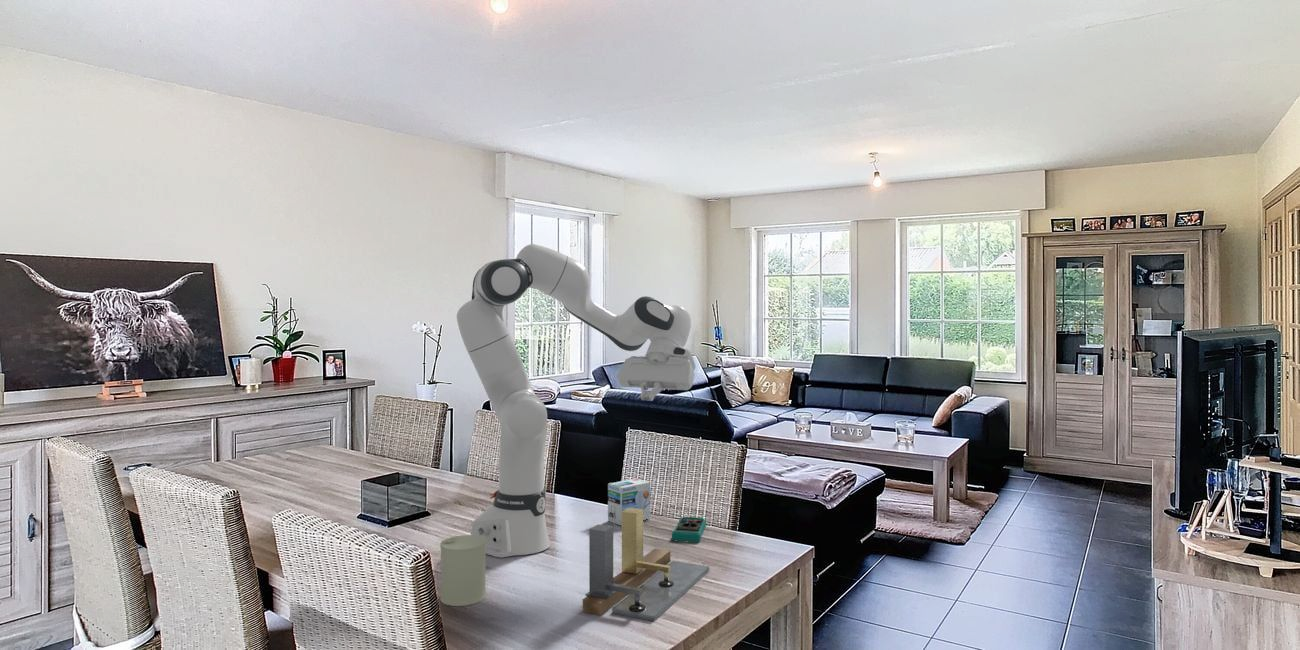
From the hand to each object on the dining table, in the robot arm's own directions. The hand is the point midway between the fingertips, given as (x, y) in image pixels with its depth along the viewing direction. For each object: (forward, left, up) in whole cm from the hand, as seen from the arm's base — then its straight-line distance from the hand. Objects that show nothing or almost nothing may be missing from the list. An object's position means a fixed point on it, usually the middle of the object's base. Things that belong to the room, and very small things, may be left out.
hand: (646, 398), depth 183 cm
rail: (+8, -24, -37) cm, 45 cm away
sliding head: (+11, -23, -35) cm, 44 cm away
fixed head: (+11, -37, -35) cm, 53 cm away
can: (-20, -45, -37) cm, 62 cm away
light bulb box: (-14, +19, -37) cm, 44 cm away
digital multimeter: (+6, +15, -38) cm, 41 cm away
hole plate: (+16, -24, -37) cm, 47 cm away
